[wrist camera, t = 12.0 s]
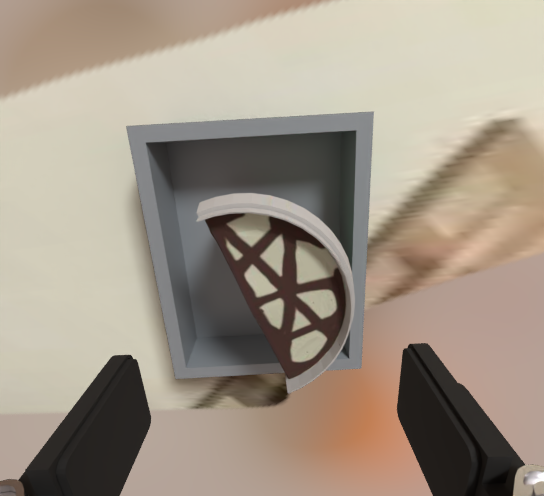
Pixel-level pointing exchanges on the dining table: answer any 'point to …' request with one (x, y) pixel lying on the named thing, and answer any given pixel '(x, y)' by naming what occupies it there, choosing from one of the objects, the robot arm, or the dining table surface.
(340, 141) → the bin
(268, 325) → the food container
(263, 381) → the dining table surface
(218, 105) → the dining table surface
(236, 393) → the dining table surface
